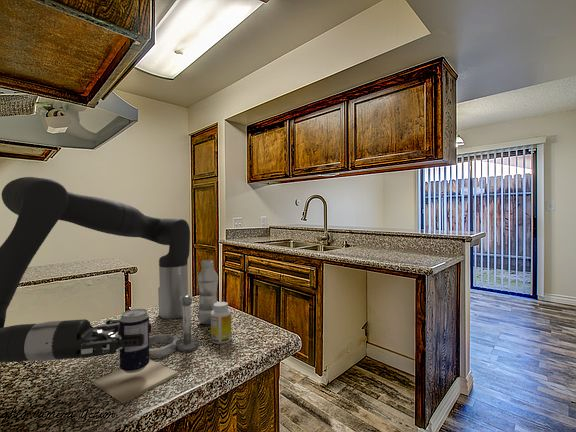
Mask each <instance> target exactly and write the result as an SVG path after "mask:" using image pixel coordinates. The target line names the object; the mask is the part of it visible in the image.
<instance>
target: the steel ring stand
mask: <svg viewBox="0 0 576 432" xmlns="http://www.w3.org/2000/svg"><path fill="white" fill-rule="evenodd" d="M192 303H193V298H192V296H190V295H188V296H184V297H183V298H182V299H181V304H182V305H183V317H182V328H183V330H182V331H183V332H182V334H183V335H182V338H183V339H180V340H179V336H176V335H173V334H170V333H164V334H163V333H162V334H153V335H149V346H152V345H154V344H163V343H168V344H167V345H165V346H162V347H156V348H149V359H159V358H163V357H166V356H169V355H170V354H172V353H174V352H176V351H177V352H181V353H186V352H192V351H194V350H197V349H198V348H199V347H200V339H198V338H193V337H192V313H191V311H192V310H191V308H192V306H191V305H192Z"/></svg>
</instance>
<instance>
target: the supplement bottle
mask: <svg viewBox="0 0 576 432" xmlns="http://www.w3.org/2000/svg"><path fill="white" fill-rule="evenodd" d="M232 335H233V334H232V311H231V309H230V308H229V303H228V302H226V301H217V303H215V304H214V305H213V311H212V312H211V324H210V341H211V342H212V343H214V344H216V345H221V344H227V343H228V342H230V341H231V340H232Z"/></svg>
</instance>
